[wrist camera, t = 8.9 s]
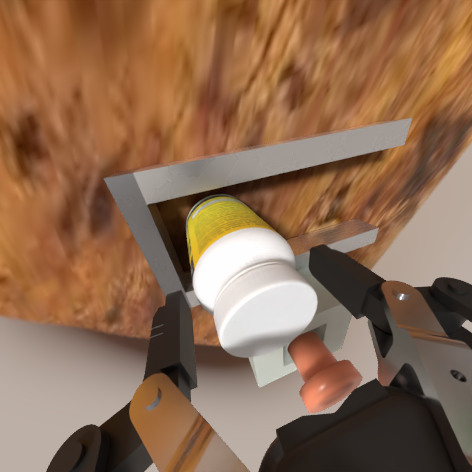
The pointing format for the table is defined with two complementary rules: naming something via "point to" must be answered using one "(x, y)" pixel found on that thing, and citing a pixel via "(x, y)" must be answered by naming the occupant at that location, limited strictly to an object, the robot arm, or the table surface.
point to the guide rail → (237, 171)
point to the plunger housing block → (323, 323)
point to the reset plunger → (321, 372)
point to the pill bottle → (246, 277)
